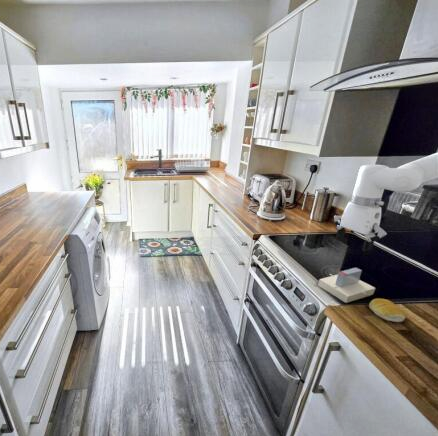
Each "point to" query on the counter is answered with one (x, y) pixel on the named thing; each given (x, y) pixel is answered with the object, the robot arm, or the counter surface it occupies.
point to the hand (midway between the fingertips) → (352, 244)
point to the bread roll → (387, 310)
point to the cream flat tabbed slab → (346, 289)
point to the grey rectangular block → (348, 277)
